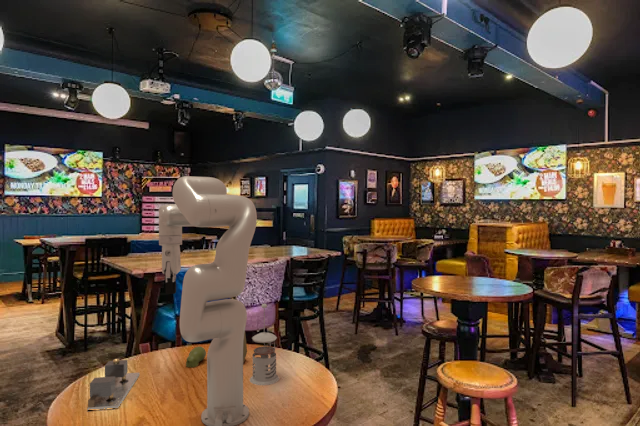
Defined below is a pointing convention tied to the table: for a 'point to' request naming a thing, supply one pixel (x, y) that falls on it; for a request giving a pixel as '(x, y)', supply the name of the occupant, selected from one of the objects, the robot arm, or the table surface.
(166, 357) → the table surface
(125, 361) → the grey block with knob
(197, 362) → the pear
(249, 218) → the robot arm
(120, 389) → the bolt plate
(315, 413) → the table surface
